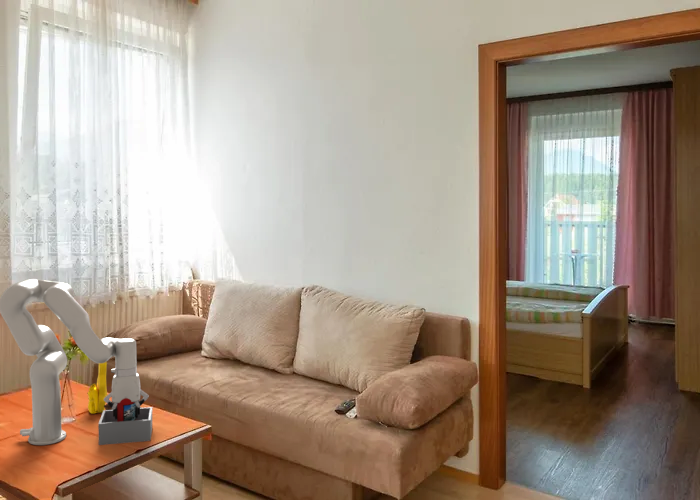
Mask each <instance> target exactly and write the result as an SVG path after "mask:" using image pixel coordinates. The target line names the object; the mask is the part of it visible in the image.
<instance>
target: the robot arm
mask: <svg viewBox="0 0 700 500" xmlns="http://www.w3.org/2000/svg"><path fill="white" fill-rule="evenodd" d="M74 297H75V290H74V289H73V287H72V286H71V285H70V284H69V283H66V282H60V281H54V280H52V281H51V280H45V279H38V278H29V279H28V278H27V279H24V280H21V281H19V282H15V283H14V284H12V285H10V286H9V287H7V288H6V289H5V290H4V292H2V294H1V296H0V315H1V317H2V318H3V320H4V323H5V324H6V325H7V327H8V330H9V331H10V333H11V335H12V337H13V339H14V340H15V343H16V344H17V347H18V348H19V349H20V351H21V352H22V353H23V354H24V355H26V356H28V357H29V356H32V357H34V356H36V357H37V358H36V359H35V360H34V361H33V362H32V364H31V366H30V368H29V379H30V387H31V405H32V407H31V410H32V412H31V413H32V415H31V416H32V427H29V428H21V429H20V430H19V435H21V436H22V437H28V438H27V441H28V443H29V444H30V445H32V446H33V445H34V446H46V445H52V444H55V443H59V442H61V441H63V440H65V438H66V437H67V432H66V431H65V430H63V429H62V389H61V383H60V374H61V373H62V372H63V371H64V370H65V369H66V367H67V365H68V357H67V355H66V353H65V350H64V349H63V347H62V345H61V343H60V341H59V339H58V337H57V336H56V334H55V332H54V331H53V330H52V329H51V327H48V326H47V325H44V324H37V322H36V320H35V318H34V316H33V315H32V313H31V312H30V311H29V310H28V309H27V305H28V304H31V303H32V302H37V303H39V302H40V303H44V304H45V306H46V307H47V308H48V309H49V310H50V311H51V312H52V313H53V314H54V315H55V316H56V317H57V318H58V319H59V321H60V322H62V324H63V325H64V326H65V327H66V328H67V329H68V331H69V333H70V335H71V337H72V339H73V340H74V342H75V344H76V345H77V347H78V348H79V349H80V350H81V351H82V353H83V354H84V355H85V356H87V358H88V359H89V360H90V361H92V362H93V363H95V364H99V363H105V362H108V361H109V360H110V359H111V358H113V357H114V359H115V360H114V362H115V365H114V366H115V368H112V369H111V370H110V372H111V373H112V374H114V375H113V377H112V381H111V392H110V393H107V396H106V397H105V398H104V401H105V402H106V404H108V405H109V406H110V407H111V408H112V409H113V417H115V419H117V403H120V401H121V400H122V399H124V398H128V399H130V400H131V402H135V404H136V418H138V415H140V407H142V405H143V404H144V403H145V402H146V401H147V400H148V399H149V396H150V395H149V394H148V393H147V392H145V391H144V390H143V389H141V380H140V375H139V373H138V372H137V371H138V369H137V365H138V364H137V362H138V361H137V340H135V339H134V338H129V337H127V338H126V337H124V338H116V337H115V338H114V337H103V338H100V337H99V336H98V335H97V334H96V333H95V331H94V329H93V328H92V325H91V320H90V315H89V313H88V312H87V311H86V310H85V308H83V306H81V304H80V303H79V302H78V301H77V300H76V299H75V298H74ZM141 396H142V399H141ZM110 398H111V399H110Z"/></svg>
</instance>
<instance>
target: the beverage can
mask: <svg viewBox="0 0 700 500" xmlns="http://www.w3.org/2000/svg"><path fill="white" fill-rule="evenodd" d="M134 420H136V404H135V402H131V400H130V399H128V398H124V399H122V400H121V401H120V403H117V422H120V421H134Z"/></svg>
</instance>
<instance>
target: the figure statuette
mask: <svg viewBox="0 0 700 500" xmlns="http://www.w3.org/2000/svg"><path fill="white" fill-rule="evenodd" d="M107 365H108V361H106V362H105V363H98V370H97V371H98V375H97V379H96V383H92V385H90V387H89V388H88V392H87V393H86V394H87V397H88V403H87V409H88V412H89V413H90V414H98V413H101V414H102V413H103V410H105V407H104V405H106V404H107V403H106V402H105V401H104V398H105V397H106V396H107V395H108V391H107V368H108V367H107Z"/></svg>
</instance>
